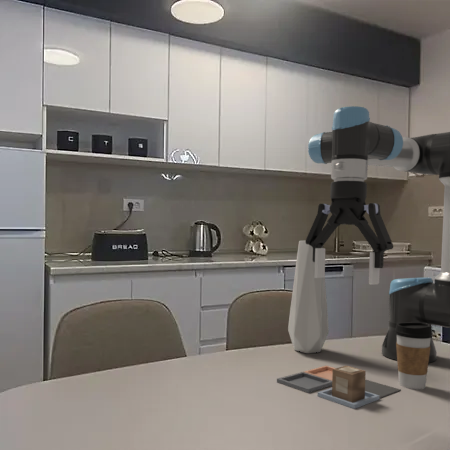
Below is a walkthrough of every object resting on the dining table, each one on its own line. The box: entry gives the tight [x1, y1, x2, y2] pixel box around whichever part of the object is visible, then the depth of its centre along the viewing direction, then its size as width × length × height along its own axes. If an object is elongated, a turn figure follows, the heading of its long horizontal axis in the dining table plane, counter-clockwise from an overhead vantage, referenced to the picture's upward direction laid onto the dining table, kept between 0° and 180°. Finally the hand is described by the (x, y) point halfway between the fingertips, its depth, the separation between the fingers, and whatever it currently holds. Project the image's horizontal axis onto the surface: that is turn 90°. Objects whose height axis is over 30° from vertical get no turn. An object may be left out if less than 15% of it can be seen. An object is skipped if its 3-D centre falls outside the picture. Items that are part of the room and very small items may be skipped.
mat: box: [365, 379, 401, 400], centre depth 117 cm, size 9×9×1 cm
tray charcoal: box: [276, 371, 332, 394], centre depth 119 cm, size 9×9×1 cm
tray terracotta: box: [303, 365, 336, 381], centre depth 126 cm, size 9×9×1 cm
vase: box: [287, 239, 330, 354], centre depth 152 cm, size 12×12×33 cm
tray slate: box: [316, 387, 380, 410], centre depth 110 cm, size 9×9×1 cm
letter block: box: [331, 365, 367, 403], centre depth 110 cm, size 5×5×6 cm
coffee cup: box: [395, 322, 434, 390], centre depth 121 cm, size 8×8×15 cm
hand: (345, 280), depth 108 cm, fingers open, 13 cm apart
